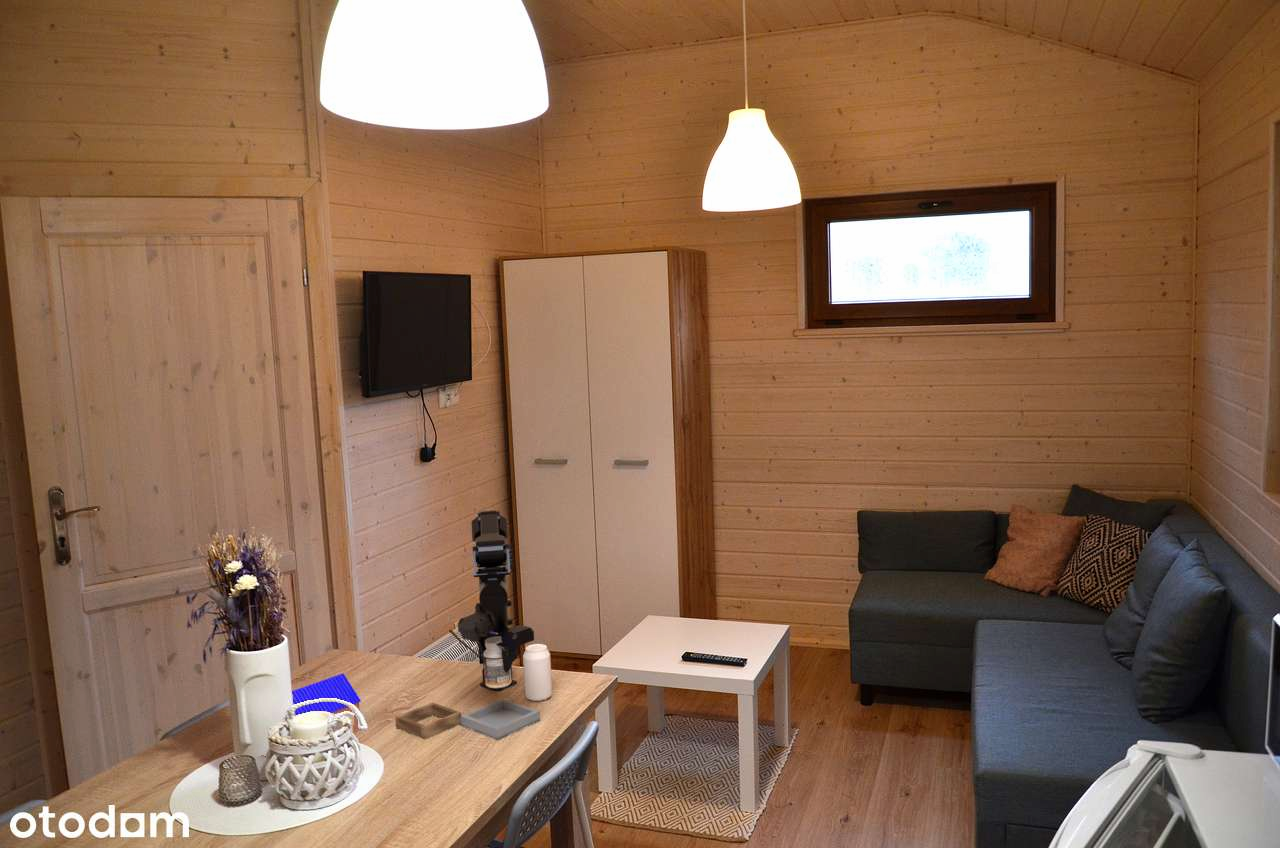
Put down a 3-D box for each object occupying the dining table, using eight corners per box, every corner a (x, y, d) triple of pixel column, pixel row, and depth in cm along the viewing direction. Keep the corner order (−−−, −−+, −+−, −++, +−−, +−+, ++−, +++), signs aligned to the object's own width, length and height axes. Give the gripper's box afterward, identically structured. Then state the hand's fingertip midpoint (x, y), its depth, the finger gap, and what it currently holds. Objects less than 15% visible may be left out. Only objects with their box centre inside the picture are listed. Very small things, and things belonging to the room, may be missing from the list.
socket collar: (433, 713, 222) (432, 702, 222) (462, 723, 215) (461, 712, 215) (396, 728, 214) (395, 717, 214) (424, 739, 208) (423, 728, 207)
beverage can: (553, 692, 231) (550, 642, 230) (551, 702, 225) (548, 651, 224) (526, 693, 231) (523, 643, 230) (524, 703, 225) (521, 652, 224)
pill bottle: (489, 679, 217) (486, 635, 216) (514, 679, 216) (512, 635, 215) (482, 689, 211) (479, 644, 210) (508, 689, 210) (505, 643, 209)
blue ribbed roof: (363, 730, 214) (359, 678, 213) (278, 765, 199) (274, 709, 198) (331, 718, 222) (327, 667, 221) (247, 750, 206) (243, 696, 205)
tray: (503, 708, 223) (502, 698, 223) (540, 721, 215) (539, 710, 215) (461, 726, 214) (460, 716, 214) (498, 740, 206) (497, 729, 206)
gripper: (435, 599, 212) (440, 670, 213) (493, 614, 199) (497, 689, 201) (476, 587, 220) (480, 655, 222) (534, 601, 208) (537, 673, 209)
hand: (497, 668), depth 213 cm, fingers closed on pill bottle, 6 cm apart
